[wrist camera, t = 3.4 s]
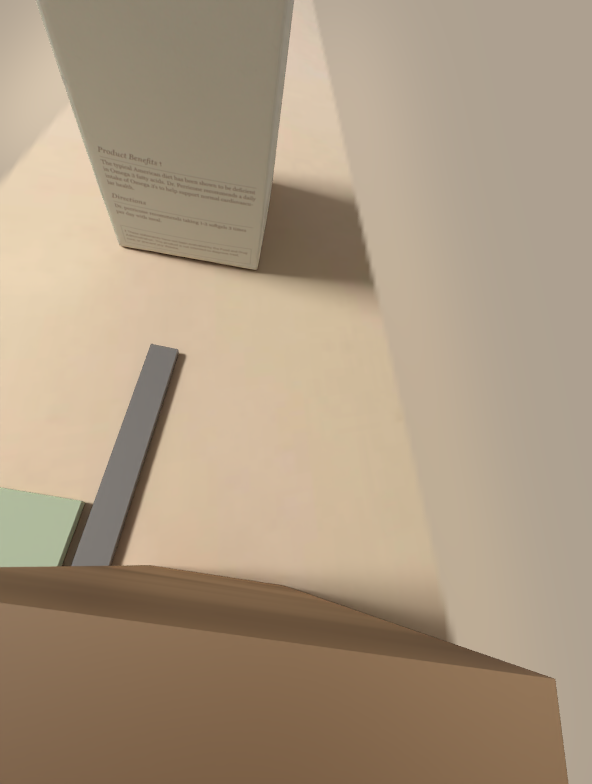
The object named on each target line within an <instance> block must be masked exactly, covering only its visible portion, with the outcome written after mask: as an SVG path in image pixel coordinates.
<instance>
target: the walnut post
mask: <svg viewBox="0 0 592 784" xmlns="http://www.w3.org/2000/svg"><path fill="white" fill-rule="evenodd" d="M0 784H568V777H567V769H566V761H565V753H564V745H563V737H562V730H561V721H560V714H559V705H558V698H557V689H556V681H555V679H554V678H551V677H548V676H545V675H542V674H539V673H536V672H533V671H530V670H528V669H525V668H522V667H519V666H516V665H513V664H510V663H507V662H504V661H501V660H499V659H495V658H493V657H490V656H487V655H484V654H481V653H478V652H475V651H472V650H469V649H467V648H464V647H461V646H458V645H455V644H452V643H449V642H446V641H443V640H440V639H438V638H435V637H432V636H429V635H426V634H423V633H420V632H417V631H414V630H411V629H408V628H406V627H403V626H400V625H397V624H394V623H391V622H388V621H385V620H382V619H379V618H376V617H374V616H371V615H368V614H365V613H362V612H359V611H356V610H353V609H350V608H347V607H344V606H342V605H339V604H336V603H333V602H330V601H327V600H324V599H321V598H318V597H315V596H312V595H310V594H307V593H304V592H301V591H298V590H295V589H292V588H289V587H286V586H282V585H276V584H269V583H262V582H256V581H249V580H243V579H236V578H230V577H223V576H216V575H210V574H203V573H197V572H190V571H183V570H177V569H170V568H164V567H157V566H151V565H136V566H51V567H0Z"/></svg>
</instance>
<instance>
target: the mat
mask: <svg viewBox="0 0 592 784" xmlns="http://www.w3.org/2000/svg"><path fill="white" fill-rule="evenodd" d="M84 504H85V502H83V501H79V500H73V499H67V498H61V497H55V496H49V495H43V494H37V493H31V492H25V491H18V490H12V489H6V488H0V567H51V566H62V564H63V561H64V558H65V556H66V553H67V550H68V548H69V545H70V542H71V539H72V537H73V534H74V531H75V529H76V526H77V523H78V520H79V518H80V515H81V512H82V510H83V507H84Z"/></svg>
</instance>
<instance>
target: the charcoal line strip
mask: <svg viewBox="0 0 592 784" xmlns="http://www.w3.org/2000/svg"><path fill="white" fill-rule="evenodd" d="M178 353H179V352H178V349H174V348H169V347H164V346H159V345H154V344H151V345H150V348H149V351H148V354H147V356H146V359H145V362H144V365H143V367H142V370H141V373H140V376H139V379H138V381H137V384H136V387H135V390H134V392H133V395H132V398H131V401H130V404H129V406H128V409H127V412H126V415H125V417H124V420H123V423H122V426H121V429H120V431H119V434H118V437H117V440H116V443H115V445H114V448H113V451H112V454H111V456H110V459H109V462H108V465H107V468H106V470H105V473H104V476H103V479H102V481H101V484H100V487H99V490H98V493H97V495H96V498H95V501H94V504H93V506H92V509H91V512H90V515H89V518H88V520H87V523H86V526H85V529H84V532H83V534H82V537H81V540H80V543H79V545H78V548H77V551H76V554H75V557H74V559H73V562H72V565H71V566H111V564H112V560H113V557H114V554H115V551H116V548H117V545H118V542H119V538H120V535H121V532H122V529H123V526H124V523H125V520H126V517H127V513H128V510H129V507H130V504H131V501H132V498H133V495H134V491H135V488H136V485H137V482H138V479H139V476H140V473H141V469H142V466H143V463H144V460H145V457H146V454H147V451H148V447H149V444H150V441H151V438H152V435H153V432H154V429H155V426H156V422H157V419H158V416H159V413H160V410H161V407H162V404H163V400H164V397H165V394H166V391H167V388H168V385H169V382H170V378H171V375H172V372H173V369H174V366H175V363H176V360H177V356H178Z"/></svg>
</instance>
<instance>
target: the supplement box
mask: <svg viewBox="0 0 592 784" xmlns="http://www.w3.org/2000/svg"><path fill="white" fill-rule="evenodd" d="M36 3H37V6H38V8H39V12H40V14H41V17H42V20H43V23H44V26H45V29H46V32H47V35H48V38H49V41H50V44H51V47H52V50H53V53H54V56H55V59H56V62H57V65H58V68H59V71H60V74H61V77H62V80H63V83H64V85H65V88H66V92H67V95H68V98H69V100H70V103H71V106H72V110H73V112H74V115H75V118H76V121H77V124H78V127H79V130H80V133H81V136H82V139H83V142H84V145H85V148H86V151H87V154H88V157H89V159H90V162H91V165H92V168H93V171H94V174H95V177H96V180H97V183H98V186H99V189H100V192H101V195H102V198H103V200H104V203H105V205H106V208H107V211H108V214H109V217H110V220H111V223H112V225H113V228H114V231H115V234H116V237H117V240H118V243H119V245H120V246H124V247H130V248H136V249H142V250H148V251H154V252H159V253H165V254H170V255H176V256H181V257H187V258H193V259H198V260H204V261H210V262H215V263H220V264H226V265H231V266H237V267H243V268H248V269H253V270H257V268H258V263H259V258H260V253H261V247H262V242H263V236H264V231H265V226H266V220H267V214H268V208H269V202H270V196H271V189H272V181H273V173H274V165H275V156H276V147H277V138H278V130H279V121H280V113H281V105H282V97H283V88H284V80H285V72H286V63H287V55H288V47H289V38H290V30H291V21H292V13H293V4H294V0H36Z"/></svg>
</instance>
